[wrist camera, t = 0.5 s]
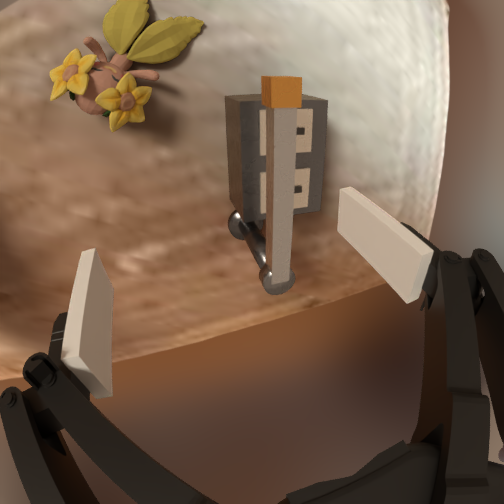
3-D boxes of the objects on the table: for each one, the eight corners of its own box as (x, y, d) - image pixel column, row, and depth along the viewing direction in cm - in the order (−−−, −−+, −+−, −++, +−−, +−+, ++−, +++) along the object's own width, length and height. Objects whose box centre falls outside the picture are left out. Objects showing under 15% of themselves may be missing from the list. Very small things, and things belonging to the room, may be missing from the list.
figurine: (212, 26, 28) (161, 102, 22) (173, 71, 35) (125, 153, 29) (127, -22, 21) (42, 41, 15) (99, 31, 28) (31, 105, 22)
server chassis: (229, 198, 41) (244, 224, 35) (224, 95, 33) (240, 102, 27) (297, 189, 44) (321, 212, 38) (300, 93, 36) (330, 100, 30)
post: (228, 239, 45) (250, 287, 36) (226, 209, 42) (249, 252, 33) (261, 233, 46) (289, 278, 37) (261, 203, 43) (292, 244, 35)
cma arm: (258, 286, 35) (264, 299, 34) (255, 76, 22) (265, 76, 21) (287, 279, 36) (295, 292, 34) (295, 76, 23) (307, 77, 21)
